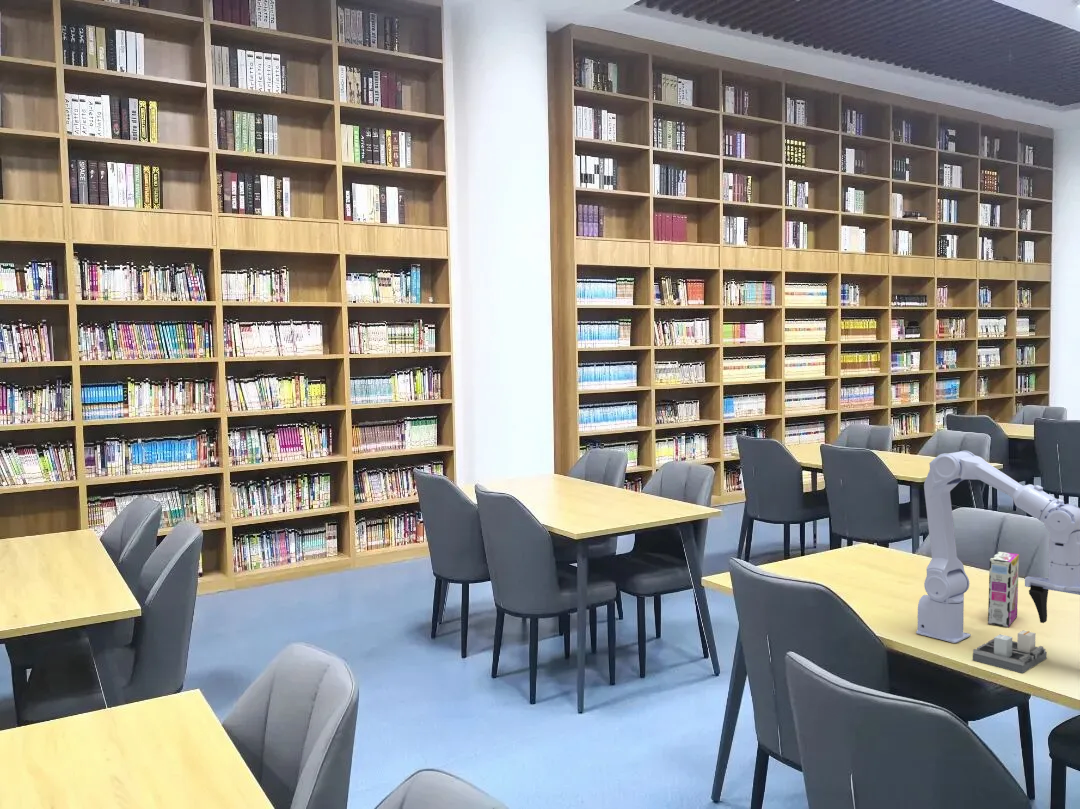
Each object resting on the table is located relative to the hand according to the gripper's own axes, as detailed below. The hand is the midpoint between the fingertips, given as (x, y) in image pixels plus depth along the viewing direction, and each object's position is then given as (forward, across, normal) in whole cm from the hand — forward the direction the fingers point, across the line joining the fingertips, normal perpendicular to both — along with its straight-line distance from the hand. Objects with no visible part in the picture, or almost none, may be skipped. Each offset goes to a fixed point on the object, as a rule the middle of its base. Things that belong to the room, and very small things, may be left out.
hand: (1063, 625), depth 175 cm
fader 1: (+7, -10, -6) cm, 14 cm away
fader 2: (+7, -7, 0) cm, 10 cm away
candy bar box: (+9, -20, +25) cm, 33 cm away
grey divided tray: (+9, -9, -3) cm, 13 cm away
